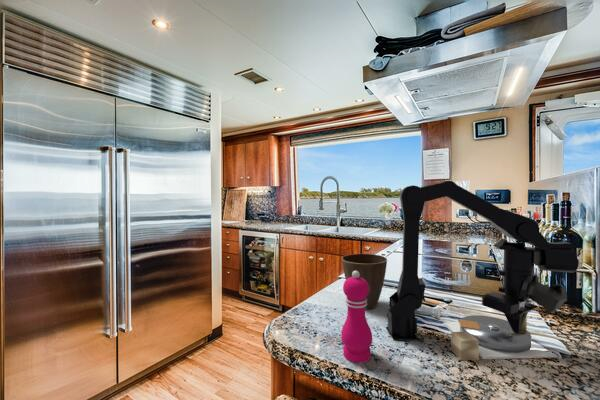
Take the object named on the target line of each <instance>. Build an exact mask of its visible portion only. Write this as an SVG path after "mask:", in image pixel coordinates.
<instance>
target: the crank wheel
mask: <svg viewBox="0 0 600 400" xmlns="http://www.w3.org/2000/svg"><path fill="white" fill-rule="evenodd" d="M527 316H528V315H527ZM527 316H526V318H525V320H524V323H523V325H522V327H521V330H520V332H519V333H515V332H513V330H512V328H511V326H510V324H509V322H508V320H507V319H504V318H503V319H502V318H499V317H494V316H489V315H475V314H474V315H473V314H472V315H468V316H467V315H466V316H464V317H462V318H461V319H457V320H458V321H457V322H459V324H460V331H461V332H469V333H470V334H471V335H473V336H474V337H475V338H476V339H478V340H479V345H481V346H484V347H487V348H490V349H494V350H498V351H504V352H524V351H527V350H529V349H530V348H531V339H532V335H531V333H530V332H529V331H528V330H527V326H528V325H527V324H528V323H527V321H528V319H527Z"/></svg>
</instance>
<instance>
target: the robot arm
mask: <svg viewBox="0 0 600 400" xmlns="http://www.w3.org/2000/svg"><path fill="white" fill-rule="evenodd" d="M442 198H447V199H448V200H451V201H453V202H454V203H456V204H458V205H459V206H461V207H463V208H465V209H466V210H468V211H471V212H472V213H473V214H474V213H475V215H478V216H479V217H481V218H483V219H484V220H486V221H487V222H488V223H490V224H491V225H492V226H493V227H494V228H495V229H497V231H499V232H500V233H501V234H503V235H504V236H505V237H507V238H510V239H512V240H515V241H519V242H511V241H508V239H505V238H501V239H500V240H499V241H498V242H496V243H494V244H493V247H494V248H497V249H498V250H501V251H503V267H502V268H503V269H502V270H498V271H499V273H498V274H499V275H500V276H502V286H499V287H498V292H497V291H492V292H488V293H486V294H483V295H482V296H481V306H484V307H487V308H489V309H493V310H495V311H498V312H500V313H503V315H504V317H505V318H506V320H507V321H508V322H509V324H510V326H511V328H512V330H513V332H515V333H519V332H520V330H521V327H522V325H523V323H524V320H525V318H526V316H528V313H529V312H531V311H534V310H536V309H538V308H539V306H541V307H542V309H545V310H546V311H548V312H552V313H553V312H555V311H557V310H561V308H562V306H563V305H564V303H565V302H567V301H568V298H567V297H568V295H567V294H566V287H565V286H562V285H561V284H559V283H556V284H552V285H551V286H549V284H544V283H542V282H540V278H539V275H538V274H537V273H534V269H535V268H534V267H535V266H536V267H538V269H539V270H540V271H547V272H557V273H558V272H561V273H575V272H577V270H578V268H579V265H580V260H579V259H578V256H577V253H576V251H575V250H574V249H573V246H574V245H573V243H570V242H565V241H559V242H556V241H555V242H552V241H548V240H547V238H545V236H544V235H543V234H542V233H541V232H540V227H539V225H540V223H538V221H536V220H535V219H533V218H530V217H527V216H525V215H522V214H519V213H516V212H512V211H509V210H506V209H504V208H501V207H499V206H497V205H495V204H493V203H491V202H489V201H488V200H486V199H484V198H482V197H480V196H478V195H476V194H475V193H473V192H471V191H469V190H467V189H465V188H463V187H461V186H460V185H458V184H457V183H456V182H455V181H453V180H444V181H441V182H439V183H435V184H430V185H425V186H418V185H408V186H406V187H404V188H403V189H401V191H400V193H399V201H400V202H399V203H400V208H401V212H402V213H401V214H402V217H403V229H402V230H403V232H402V233H403V235H402V262H401V263H402V264H401V265H402V267H401V269H402V270H401V273H400V276H399V280H398V284H397V289H396V291H395V292H394V293H393V294H392V295H390V296H389V298H388V299H389V308H388V309H387V326H386V327H385V329H386V331H387V332H388V335H390V337H391V338H392V340H394V341H411V340H413V341H414V340H419V337H418V335H417V334H418V317H417V318H416V313H415V312H416V311H417V310H419V309H420V308H421V307H422V306H423V302H426V298H425V291H426V283H425V281H424V280H423V277H419V243H420V241H419V240H420V220H421V217H422V214H423V211H424V206H425V203H426V202H430V201H434V200H439V199H442ZM524 243H525V244H529V245H531V246H526V245H524ZM499 275H498V276H499ZM502 293H503V294H502ZM532 301H533V302H535V303H536V304H538V305H539V306H538V305H536V304H533V303H532Z"/></svg>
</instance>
